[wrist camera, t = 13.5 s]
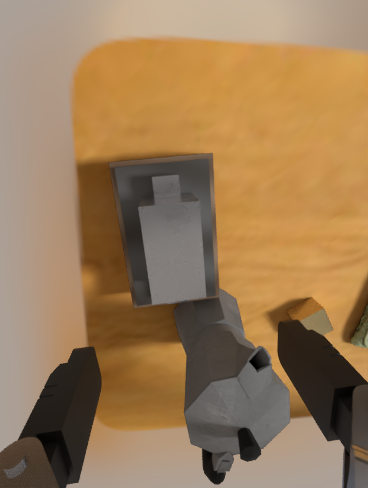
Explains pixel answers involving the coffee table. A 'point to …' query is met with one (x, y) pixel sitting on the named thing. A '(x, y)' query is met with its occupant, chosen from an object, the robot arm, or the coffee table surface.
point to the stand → (140, 186)
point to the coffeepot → (227, 386)
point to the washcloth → (361, 332)
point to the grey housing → (172, 242)
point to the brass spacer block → (311, 316)
